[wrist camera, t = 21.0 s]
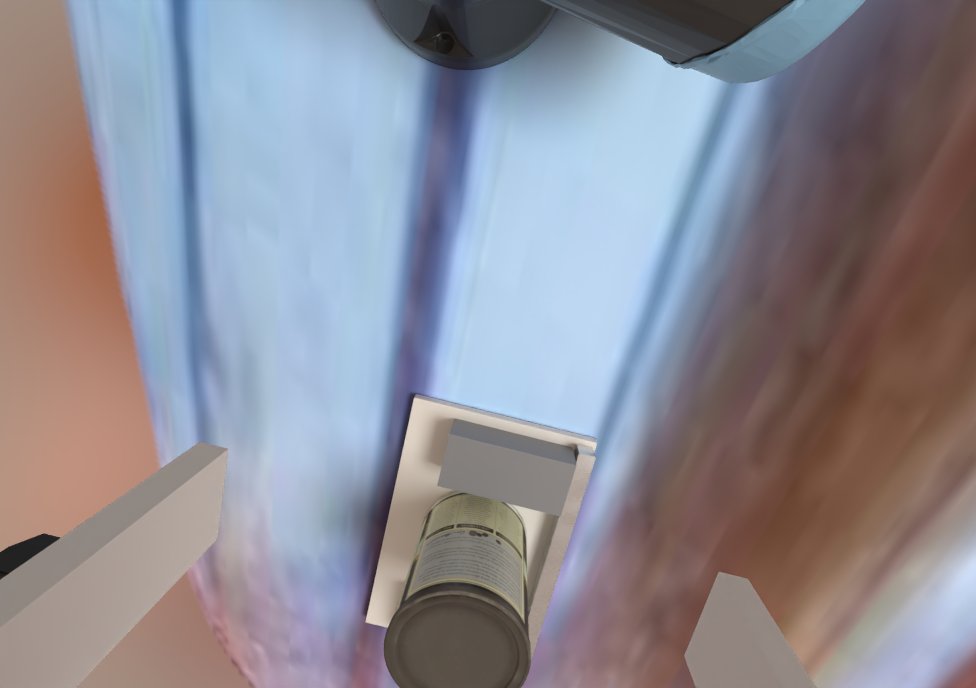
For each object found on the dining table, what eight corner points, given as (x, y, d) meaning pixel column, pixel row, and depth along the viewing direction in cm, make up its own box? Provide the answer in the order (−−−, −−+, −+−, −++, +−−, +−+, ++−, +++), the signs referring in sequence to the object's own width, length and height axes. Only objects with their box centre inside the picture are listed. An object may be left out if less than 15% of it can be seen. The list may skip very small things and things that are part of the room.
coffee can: (543, 564, 49) (552, 695, 36) (445, 593, 51) (417, 730, 37) (505, 472, 47) (499, 574, 34) (404, 505, 49) (359, 616, 35)
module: (443, 466, 48) (437, 485, 44) (454, 418, 47) (449, 433, 43) (557, 495, 48) (560, 516, 44) (572, 447, 46) (576, 465, 43)
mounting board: (368, 614, 53) (365, 622, 52) (416, 393, 47) (414, 397, 46) (527, 654, 53) (527, 662, 52) (595, 438, 47) (597, 443, 46)
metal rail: (511, 654, 52) (511, 671, 50) (576, 443, 46) (579, 452, 44) (526, 658, 52) (526, 675, 50) (592, 447, 46) (595, 457, 44)
